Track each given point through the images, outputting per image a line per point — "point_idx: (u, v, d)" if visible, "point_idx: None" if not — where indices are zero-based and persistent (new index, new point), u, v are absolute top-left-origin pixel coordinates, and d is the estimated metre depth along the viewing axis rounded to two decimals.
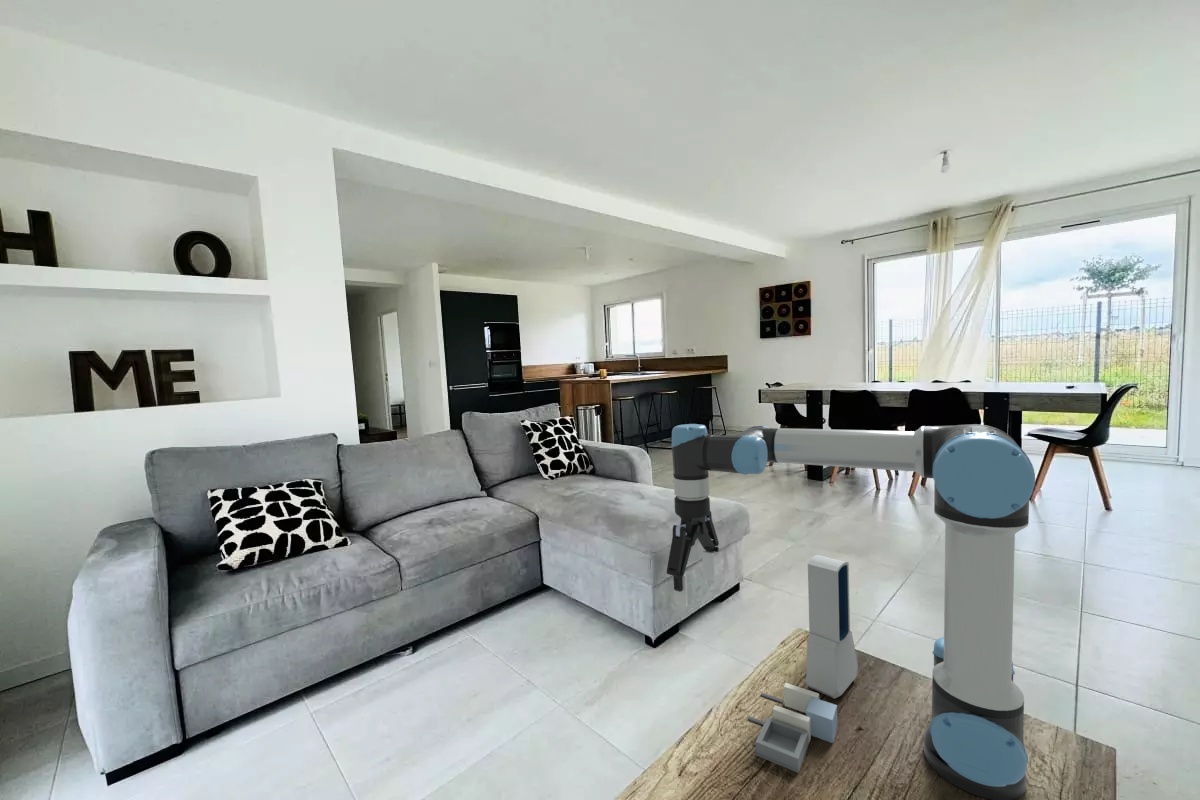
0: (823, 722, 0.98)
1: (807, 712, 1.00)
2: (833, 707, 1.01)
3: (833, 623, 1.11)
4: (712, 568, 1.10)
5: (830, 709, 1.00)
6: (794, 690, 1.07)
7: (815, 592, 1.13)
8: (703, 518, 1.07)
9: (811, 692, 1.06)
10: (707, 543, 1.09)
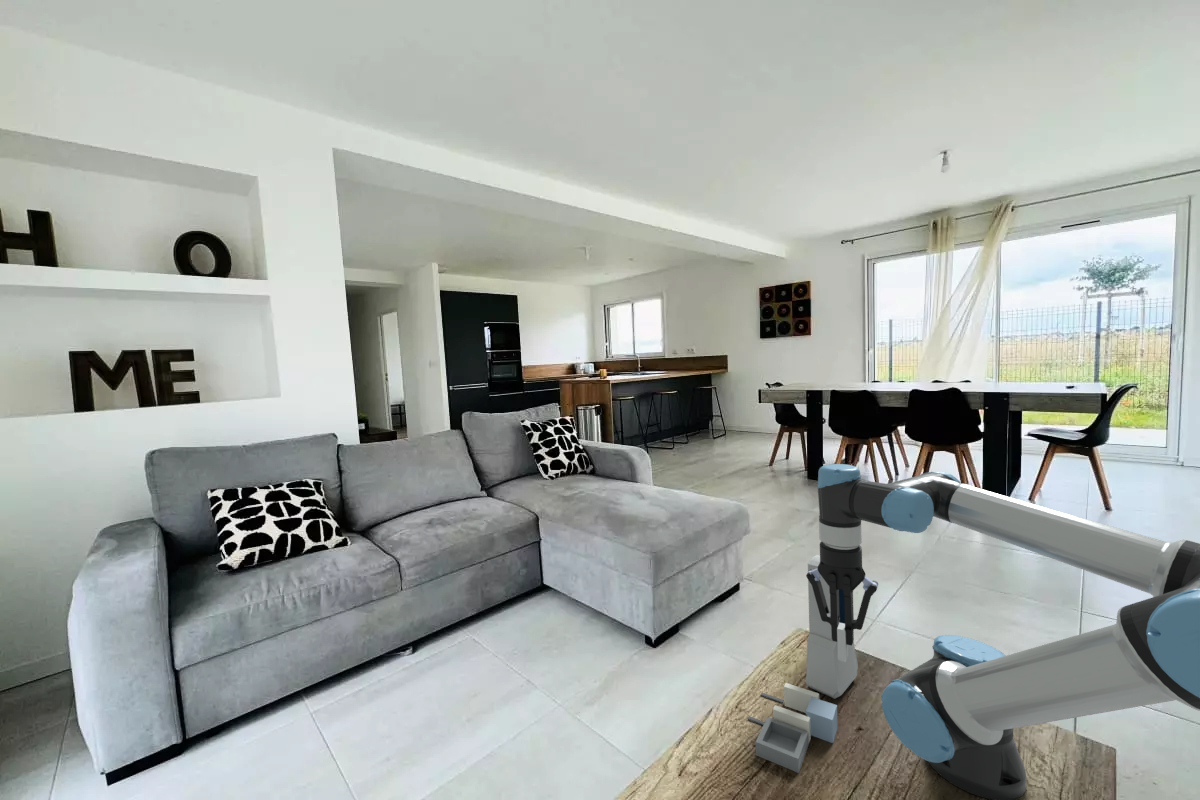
0: (823, 722, 0.98)
1: (807, 712, 1.00)
2: (833, 707, 1.01)
3: None
4: None
5: (830, 709, 1.00)
6: (794, 690, 1.07)
7: None
8: (857, 575, 0.94)
9: (811, 692, 1.06)
10: (845, 610, 0.96)
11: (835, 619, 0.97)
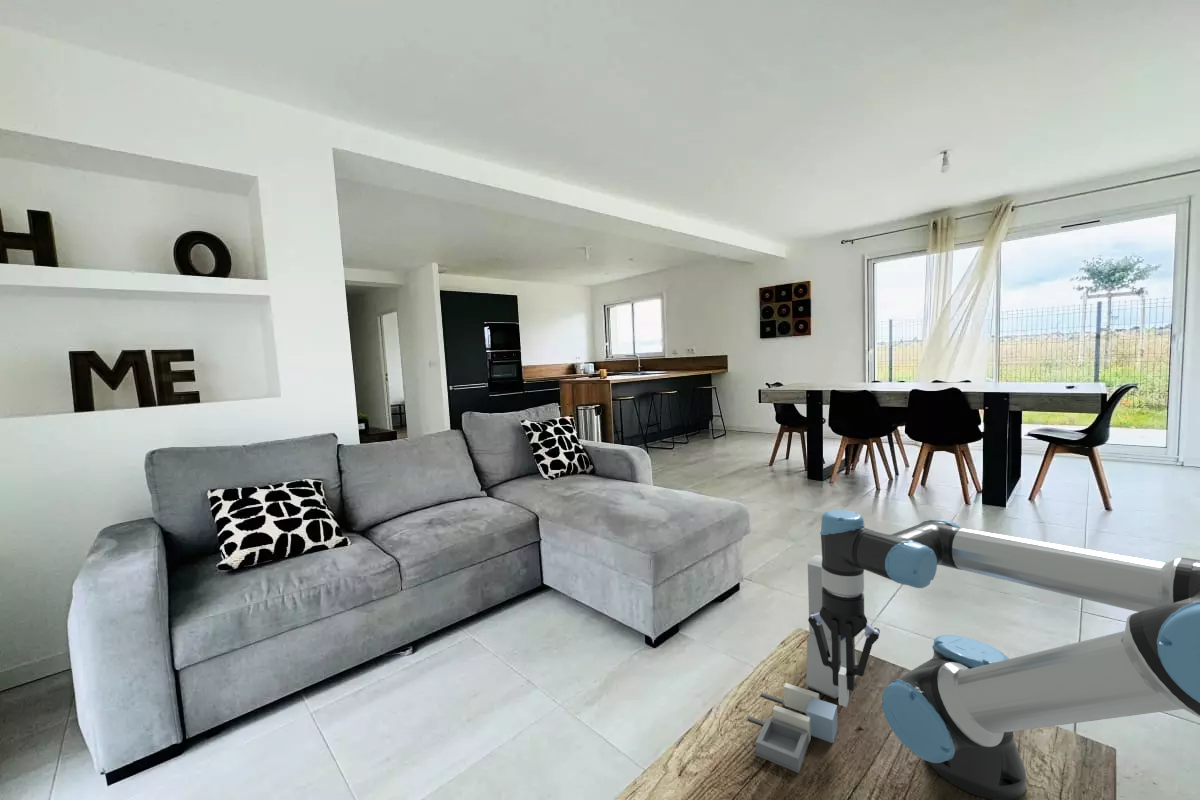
0: (823, 722, 0.98)
1: (807, 712, 1.00)
2: (833, 707, 1.01)
3: None
4: None
5: (830, 710, 1.00)
6: (794, 690, 1.07)
7: (815, 592, 1.13)
8: (859, 622, 0.94)
9: (811, 692, 1.06)
10: None
11: (836, 664, 0.97)
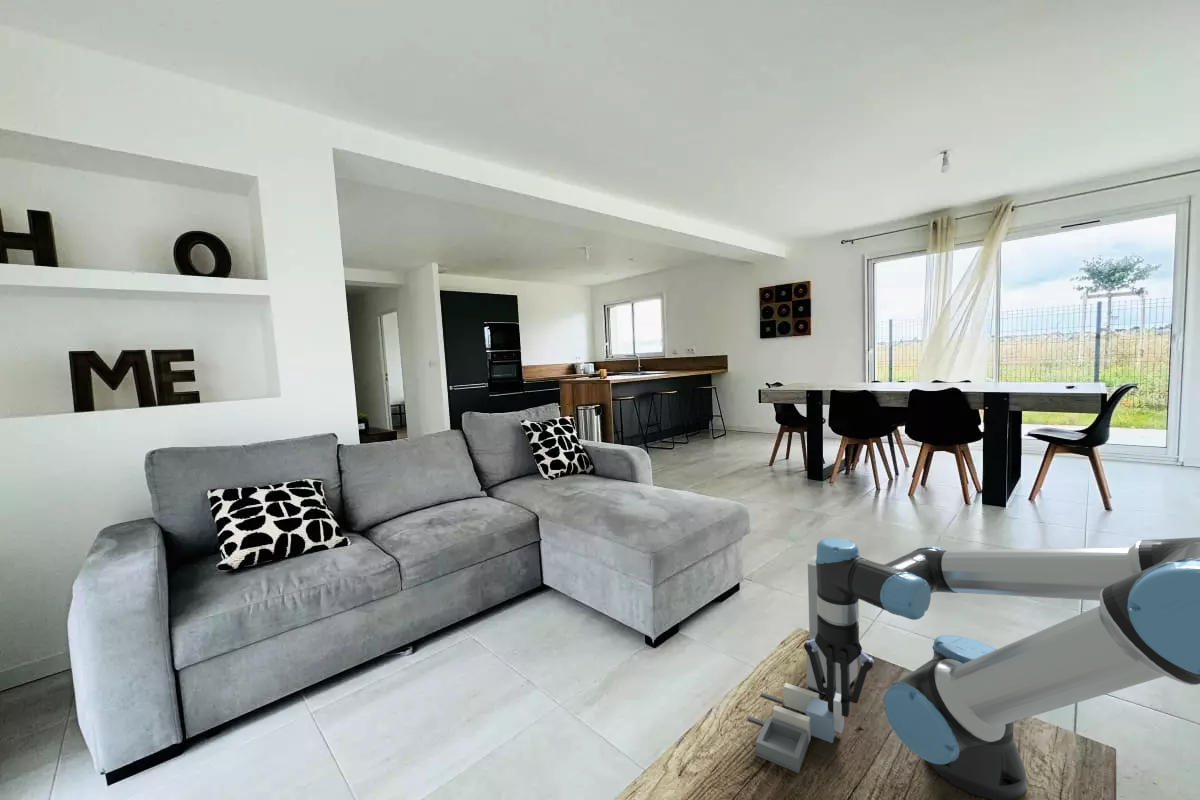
0: (823, 722, 0.98)
1: (806, 711, 1.00)
2: None
3: None
4: None
5: None
6: (794, 690, 1.07)
7: (815, 592, 1.13)
8: (854, 650, 0.95)
9: (811, 692, 1.06)
10: (841, 682, 0.98)
11: (831, 691, 0.98)
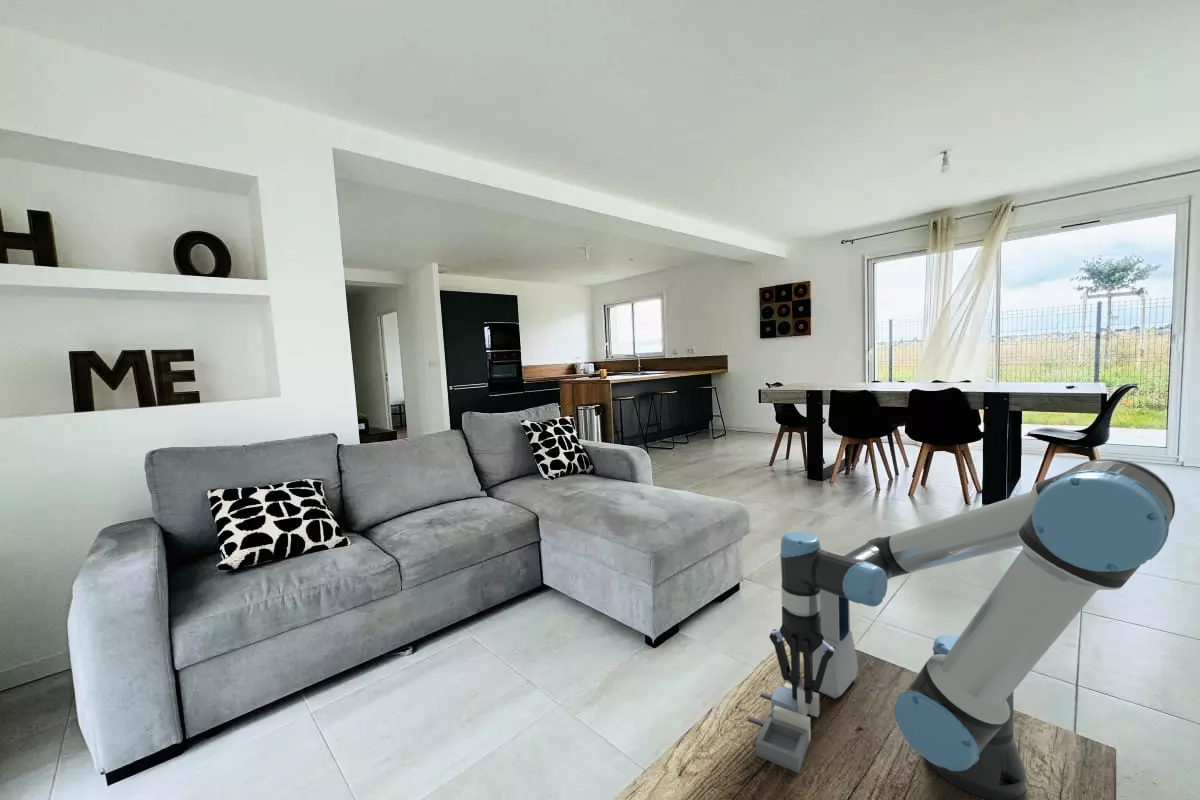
0: None
1: (772, 699, 1.04)
2: None
3: (833, 623, 1.11)
4: None
5: None
6: None
7: None
8: (815, 640, 0.99)
9: None
10: None
11: (795, 679, 1.02)
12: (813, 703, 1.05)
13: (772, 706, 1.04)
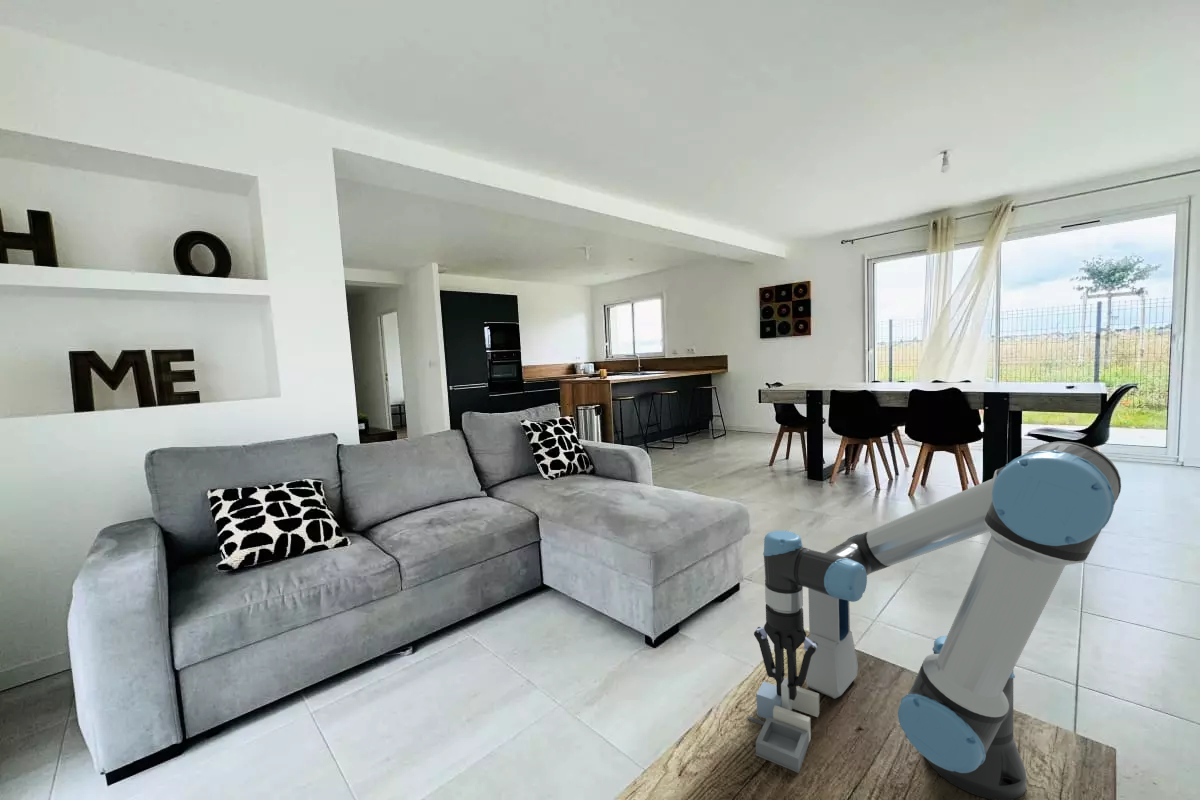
0: (772, 704, 1.04)
1: (757, 695, 1.06)
2: None
3: (833, 623, 1.11)
4: None
5: None
6: None
7: (815, 592, 1.13)
8: (798, 637, 1.01)
9: (811, 692, 1.06)
10: None
11: (779, 675, 1.04)
12: (813, 703, 1.05)
13: (757, 701, 1.06)
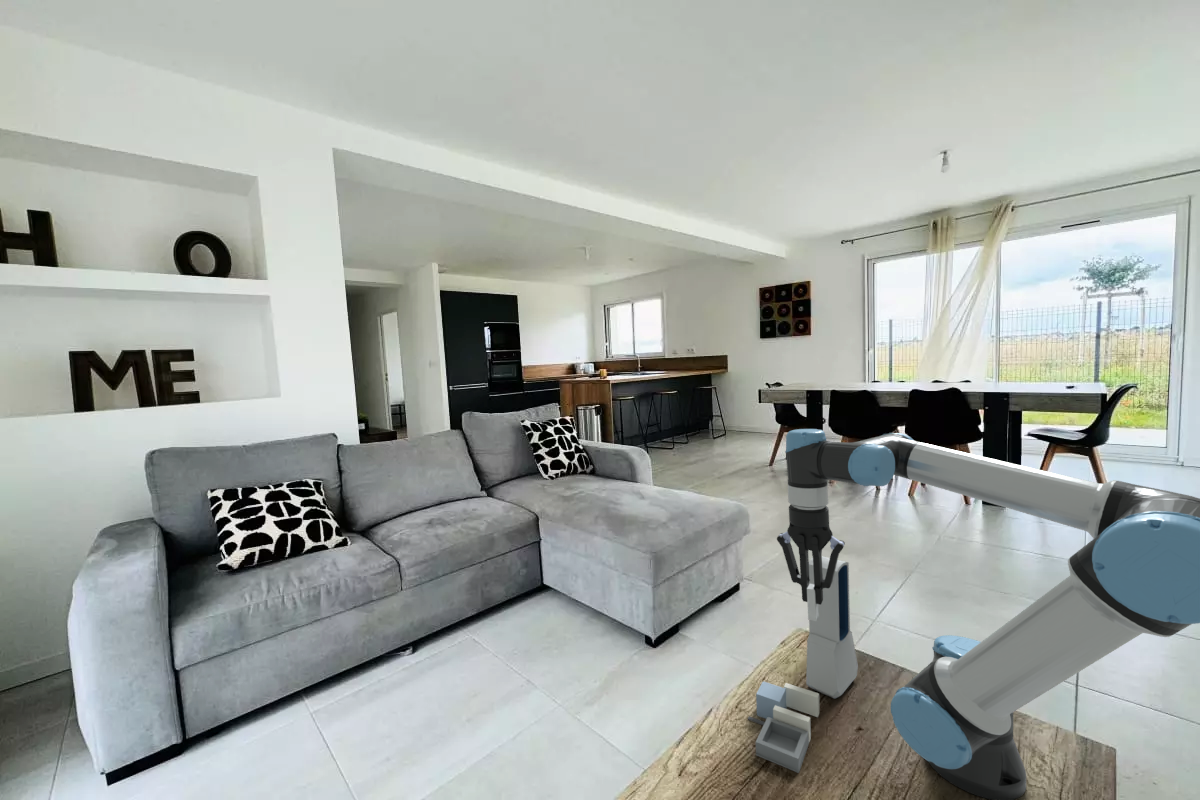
0: (772, 704, 1.04)
1: (757, 695, 1.06)
2: (782, 690, 1.07)
3: (833, 623, 1.11)
4: None
5: (778, 692, 1.06)
6: (794, 690, 1.07)
7: None
8: (824, 535, 0.97)
9: (811, 692, 1.06)
10: None
11: (805, 579, 1.00)
12: (813, 703, 1.05)
13: (757, 701, 1.06)
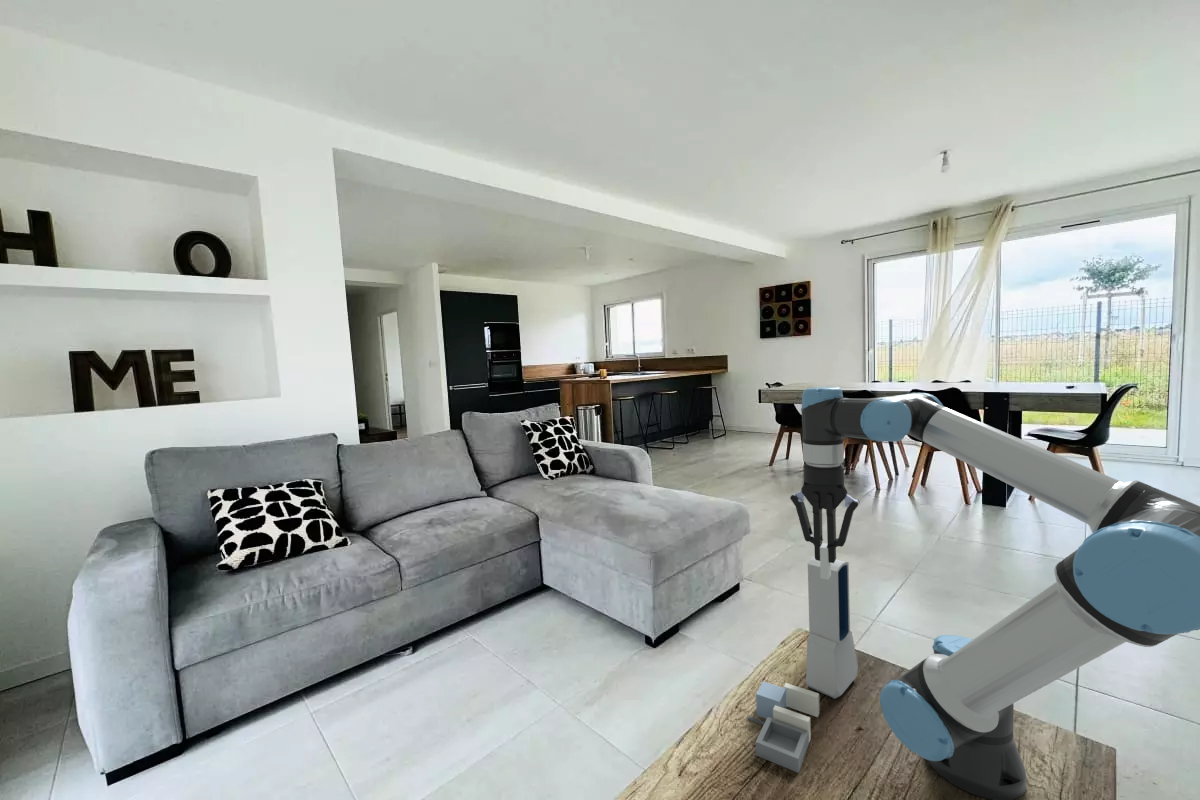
0: (772, 704, 1.04)
1: (757, 695, 1.06)
2: (782, 690, 1.07)
3: (833, 623, 1.11)
4: None
5: (778, 692, 1.06)
6: (794, 690, 1.07)
7: (815, 592, 1.13)
8: (839, 493, 0.96)
9: (811, 692, 1.06)
10: None
11: (818, 538, 0.99)
12: (813, 703, 1.05)
13: (757, 701, 1.06)
